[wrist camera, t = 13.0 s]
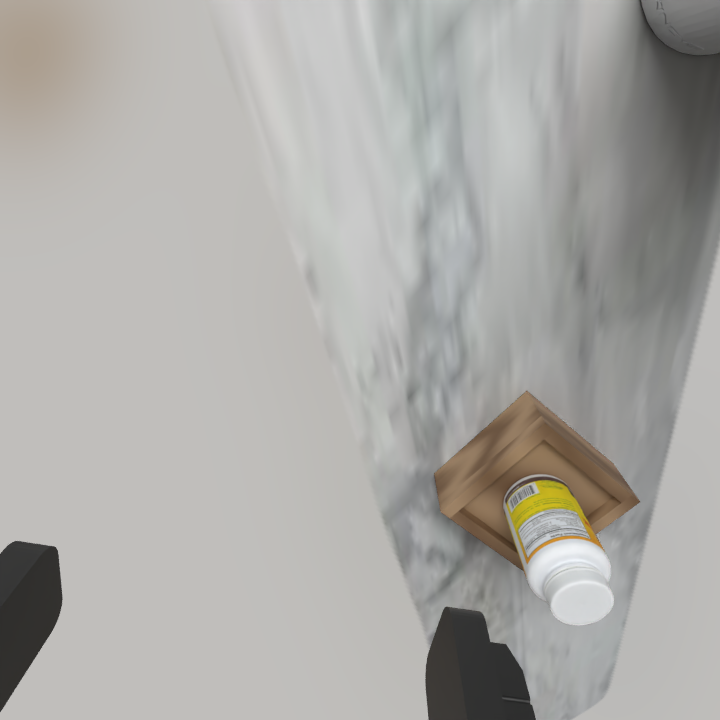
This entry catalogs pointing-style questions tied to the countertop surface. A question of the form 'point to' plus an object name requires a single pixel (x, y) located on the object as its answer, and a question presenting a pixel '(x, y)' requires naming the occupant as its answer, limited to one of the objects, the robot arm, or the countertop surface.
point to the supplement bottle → (559, 549)
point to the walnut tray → (527, 474)
